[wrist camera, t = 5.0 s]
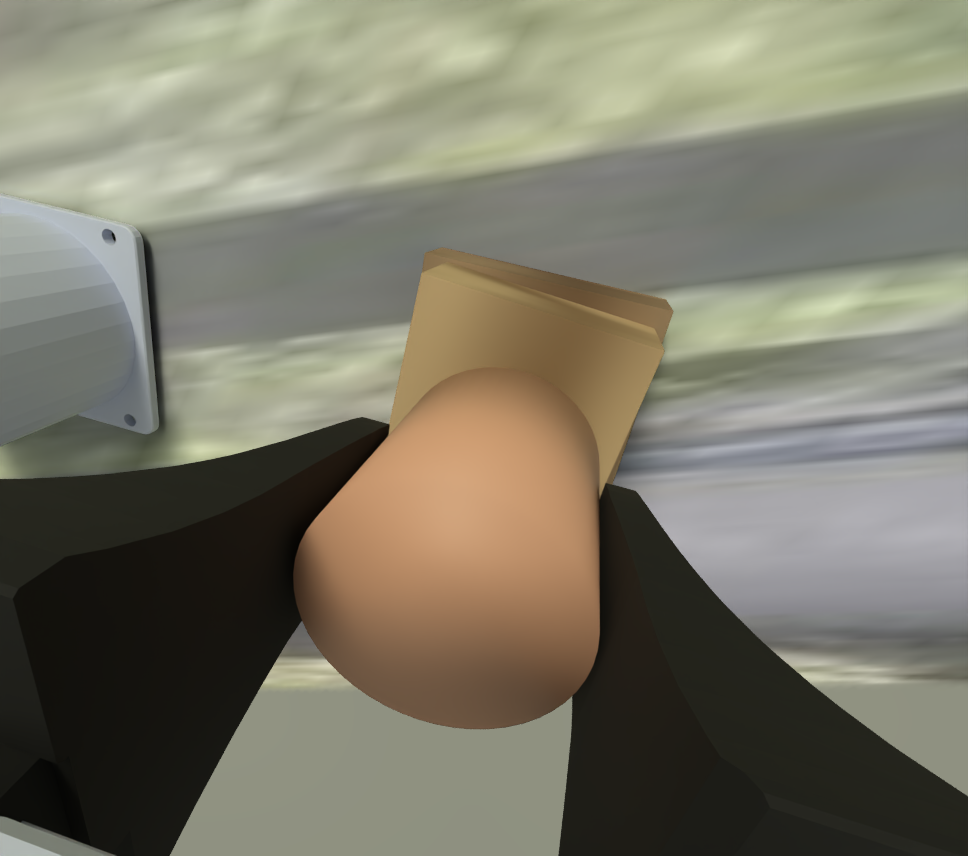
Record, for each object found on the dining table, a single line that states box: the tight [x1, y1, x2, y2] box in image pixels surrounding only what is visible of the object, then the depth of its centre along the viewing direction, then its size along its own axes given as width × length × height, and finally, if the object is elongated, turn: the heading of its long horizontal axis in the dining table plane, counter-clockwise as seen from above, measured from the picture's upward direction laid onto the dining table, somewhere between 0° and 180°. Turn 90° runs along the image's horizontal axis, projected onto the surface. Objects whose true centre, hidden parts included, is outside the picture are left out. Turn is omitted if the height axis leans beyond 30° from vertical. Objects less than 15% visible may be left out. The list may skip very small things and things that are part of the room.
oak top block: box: [389, 262, 665, 495], centre depth 15 cm, size 6×6×2 cm
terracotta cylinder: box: [293, 367, 600, 729], centre depth 10 cm, size 5×5×5 cm
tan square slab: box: [422, 248, 673, 497], centre depth 17 cm, size 7×7×2 cm
